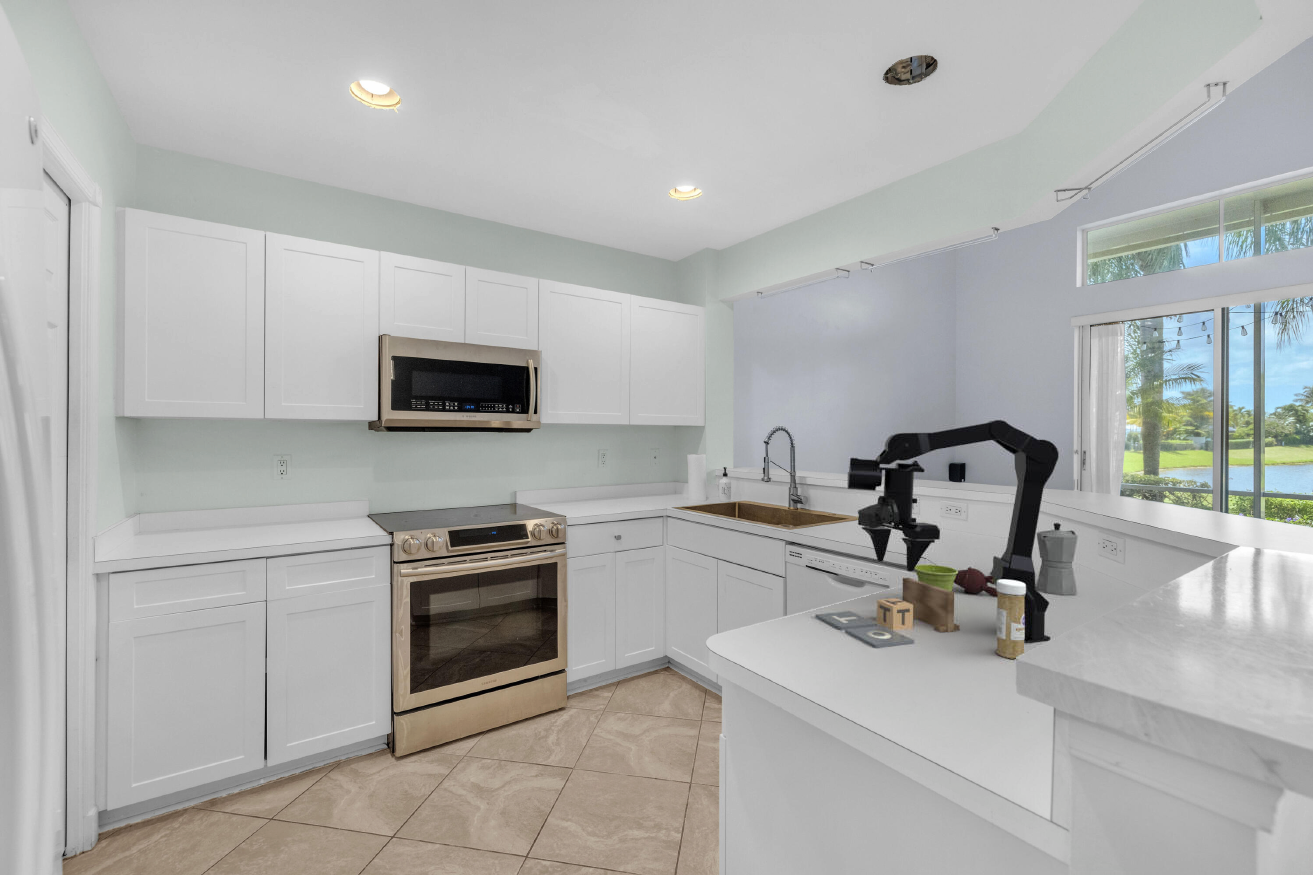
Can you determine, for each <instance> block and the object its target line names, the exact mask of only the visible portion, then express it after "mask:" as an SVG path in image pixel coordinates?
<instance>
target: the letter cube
mask: <svg viewBox="0 0 1313 875" xmlns="http://www.w3.org/2000/svg"><path fill="white" fill-rule="evenodd" d="M876 623H877V625H879V626H884V627H886V628H888V629H891V630H893V631H901V630H909V629H912V630H913V628H914V618H913V604H910V603H907V602H905V601H902V599H899V598H887V599H886V598H883V599H876Z"/></svg>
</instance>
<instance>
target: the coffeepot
mask: <svg viewBox="0 0 1313 875" xmlns="http://www.w3.org/2000/svg"><path fill="white" fill-rule="evenodd" d="M1061 525H1062V524H1061V523H1059V522H1055V523H1053V527H1054V528H1053V529H1050V530H1043V531H1037V532H1036V537H1037V538H1036V539H1037V546H1038V552H1039V558H1040V559H1041V564H1040V568H1039V573H1038V579H1037V582H1036V586H1035V589H1036V590H1037V591H1038V592H1042V593H1045V594H1049V595H1056V596H1065V597H1068V596H1069V597H1070V596H1076V595H1077V594H1078V593H1077V592H1078V591H1077V585H1076V578H1075V575H1074V574H1075V573H1074V572H1075V571H1074V568H1073V562H1074V558H1075V553H1076V548H1077V543H1078V535H1077V534H1076V533H1075V530H1074V531H1073V530H1060V528H1061Z"/></svg>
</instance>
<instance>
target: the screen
mask: <svg viewBox="0 0 1313 875" xmlns="http://www.w3.org/2000/svg"><path fill="white" fill-rule="evenodd" d="M901 600H902V601H905V602H907V603H910V604H913V619H916V621H919V622H922V623H924V624H926V625H930V626H932V627H934V631H936V632H938V633H946V632H947V633H950V632H951V633H952V632H955V631H960V629H961V628H960V624H957V623H955V592H954V591H953V590H952V591H949V590H946V589H942V588H939V587H936V586H933V585H930V584H927V583H923V582H920V581H918V579H914V578H911V577H902V599H901Z"/></svg>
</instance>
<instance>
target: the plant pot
mask: <svg viewBox="0 0 1313 875" xmlns="http://www.w3.org/2000/svg"><path fill="white" fill-rule="evenodd" d="M914 570H915V573H916V576H917V581H920V582H923V583H927V584H930V585H933V586H936V587H939V588H942V589H946V590H949V591H952V592H953V587H954V583H953V582H954V579H955V577H956V574H957V573H958V571H957V570H958V569H956V568H953V567H950V566H947V565H946V566H945V565H939V564H938V565H936V564H917V565H916V567H915V568H914Z"/></svg>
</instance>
